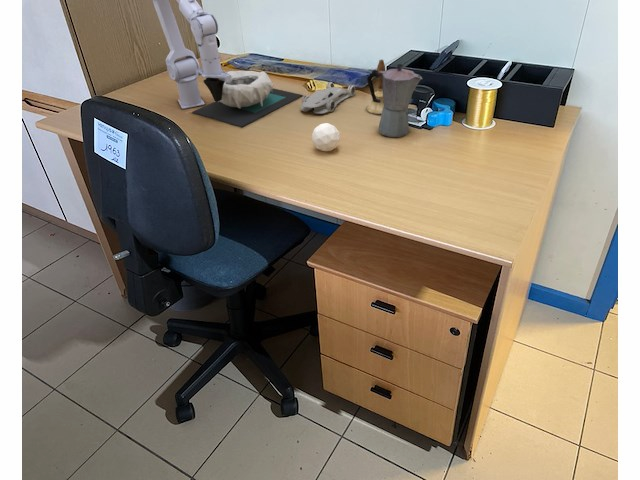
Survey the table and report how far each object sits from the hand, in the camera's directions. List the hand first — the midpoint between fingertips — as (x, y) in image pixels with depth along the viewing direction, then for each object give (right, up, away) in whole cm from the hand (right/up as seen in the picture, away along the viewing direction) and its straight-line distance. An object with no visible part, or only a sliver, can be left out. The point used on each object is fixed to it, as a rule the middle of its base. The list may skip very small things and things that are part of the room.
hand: (218, 100), depth 157 cm
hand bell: (+53, -3, +2) cm, 53 cm away
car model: (+36, +1, +8) cm, 37 cm away
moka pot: (+55, -13, -12) cm, 58 cm away
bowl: (+7, +1, +11) cm, 13 cm away
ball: (+35, -20, -19) cm, 45 cm away
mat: (+8, +2, +11) cm, 14 cm away
